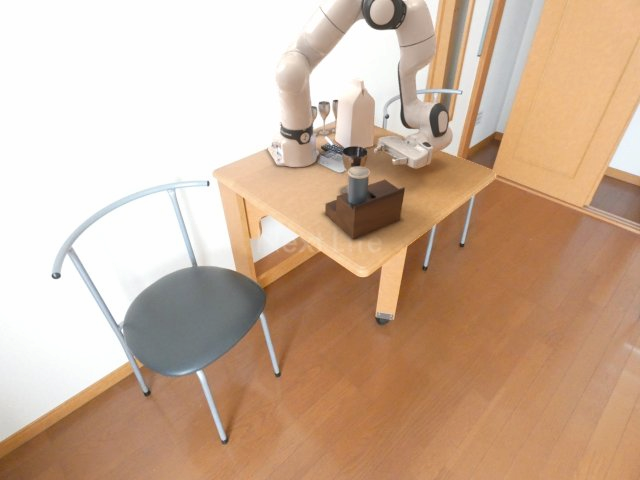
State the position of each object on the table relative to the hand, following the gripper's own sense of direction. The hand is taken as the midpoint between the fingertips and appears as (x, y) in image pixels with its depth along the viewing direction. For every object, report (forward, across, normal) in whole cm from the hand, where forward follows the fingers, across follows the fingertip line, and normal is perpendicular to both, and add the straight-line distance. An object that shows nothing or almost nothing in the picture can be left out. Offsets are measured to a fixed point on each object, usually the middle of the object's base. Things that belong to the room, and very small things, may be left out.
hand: (384, 156), depth 126 cm
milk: (-10, -31, +10) cm, 34 cm away
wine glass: (+13, 0, +10) cm, 16 cm away
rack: (+19, +13, +10) cm, 25 cm away
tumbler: (+24, +16, 0) cm, 29 cm away
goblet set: (-12, -46, +10) cm, 49 cm away
